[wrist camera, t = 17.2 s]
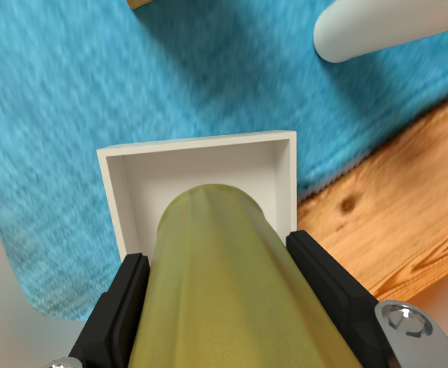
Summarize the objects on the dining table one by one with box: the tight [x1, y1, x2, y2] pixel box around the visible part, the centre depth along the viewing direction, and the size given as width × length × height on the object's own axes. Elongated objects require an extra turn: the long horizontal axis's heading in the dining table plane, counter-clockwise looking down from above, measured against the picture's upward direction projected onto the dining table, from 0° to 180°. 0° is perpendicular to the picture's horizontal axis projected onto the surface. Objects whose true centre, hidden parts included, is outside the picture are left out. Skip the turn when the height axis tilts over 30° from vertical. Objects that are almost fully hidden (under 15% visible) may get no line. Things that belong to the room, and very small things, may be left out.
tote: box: [97, 130, 297, 270], centre depth 25 cm, size 17×16×5 cm
